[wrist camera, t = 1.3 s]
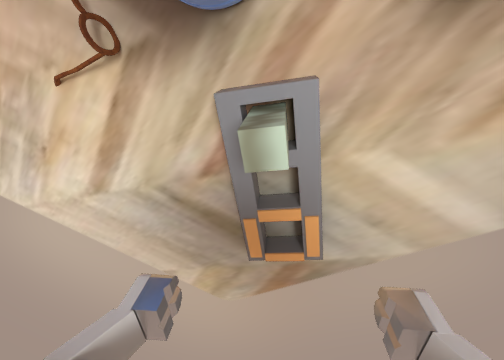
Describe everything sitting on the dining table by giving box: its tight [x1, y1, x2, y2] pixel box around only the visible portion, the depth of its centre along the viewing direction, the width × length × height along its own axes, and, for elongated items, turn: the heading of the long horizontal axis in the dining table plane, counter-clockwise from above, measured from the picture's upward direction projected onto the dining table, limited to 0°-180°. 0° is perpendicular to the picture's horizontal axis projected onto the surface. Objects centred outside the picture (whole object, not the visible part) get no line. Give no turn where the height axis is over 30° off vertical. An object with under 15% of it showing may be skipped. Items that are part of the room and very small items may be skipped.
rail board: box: [214, 76, 323, 261], centre depth 36 cm, size 12×28×4 cm, turn 8°
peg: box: [237, 102, 289, 173], centre depth 28 cm, size 4×4×12 cm
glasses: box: [54, 0, 120, 86], centre depth 29 cm, size 13×13×5 cm
